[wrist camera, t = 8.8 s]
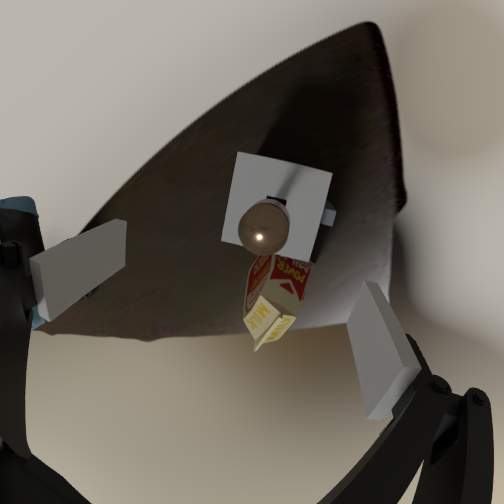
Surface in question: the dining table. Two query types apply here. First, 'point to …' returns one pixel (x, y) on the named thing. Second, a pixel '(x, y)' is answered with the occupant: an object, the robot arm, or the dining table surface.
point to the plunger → (265, 226)
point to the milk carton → (274, 295)
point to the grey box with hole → (284, 187)
